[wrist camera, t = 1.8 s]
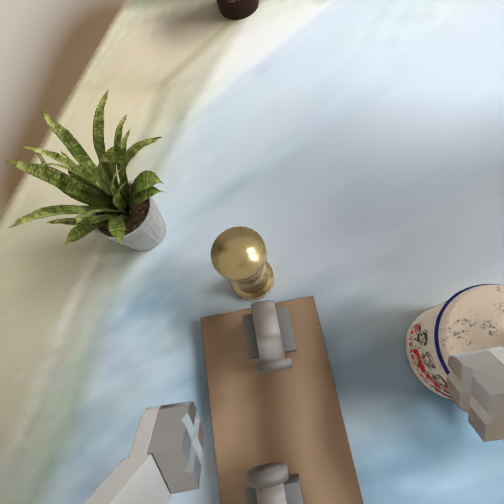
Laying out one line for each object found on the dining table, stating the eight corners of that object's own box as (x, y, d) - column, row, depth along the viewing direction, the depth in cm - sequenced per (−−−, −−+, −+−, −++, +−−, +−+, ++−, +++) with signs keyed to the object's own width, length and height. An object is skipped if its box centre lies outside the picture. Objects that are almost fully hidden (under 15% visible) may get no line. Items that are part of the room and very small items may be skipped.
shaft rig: (312, 298, 34) (315, 283, 28) (367, 528, 27) (386, 574, 21) (204, 320, 35) (184, 309, 29) (230, 547, 28) (210, 597, 22)
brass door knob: (269, 255, 37) (260, 221, 28) (277, 295, 35) (270, 272, 27) (228, 263, 37) (207, 232, 29) (234, 304, 35) (214, 283, 27)
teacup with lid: (384, 324, 32) (425, 302, 22) (467, 291, 32) (551, 252, 22) (452, 454, 28) (548, 508, 17) (549, 415, 28) (706, 445, 17)
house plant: (196, 163, 43) (138, 49, 27) (222, 256, 38) (168, 179, 22) (96, 197, 43) (-16, 104, 28) (108, 293, 38) (-21, 243, 23)
